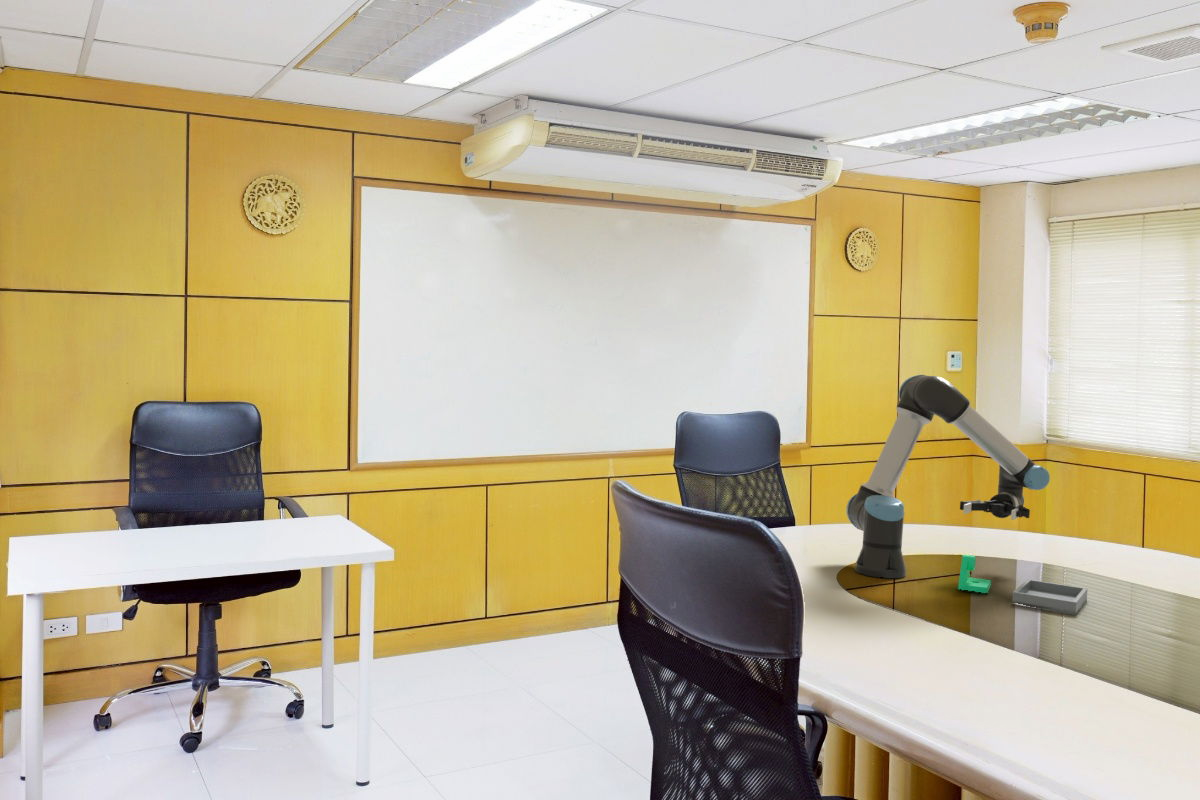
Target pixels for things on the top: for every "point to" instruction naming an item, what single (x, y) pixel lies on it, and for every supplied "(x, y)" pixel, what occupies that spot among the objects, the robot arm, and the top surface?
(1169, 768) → the top surface
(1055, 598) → the tray
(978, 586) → the camera mount
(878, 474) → the robot arm
